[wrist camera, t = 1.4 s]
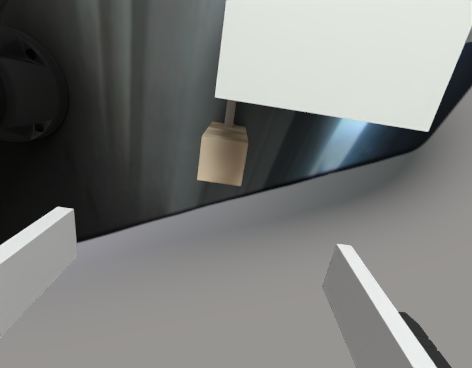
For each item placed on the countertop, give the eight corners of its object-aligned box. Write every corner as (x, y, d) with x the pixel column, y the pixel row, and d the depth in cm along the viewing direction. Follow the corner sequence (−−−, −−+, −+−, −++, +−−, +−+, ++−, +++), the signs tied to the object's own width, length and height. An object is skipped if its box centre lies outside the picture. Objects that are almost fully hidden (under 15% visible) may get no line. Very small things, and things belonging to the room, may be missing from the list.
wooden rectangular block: (208, 153, 41) (197, 179, 29) (221, 44, 35) (213, 25, 24) (240, 158, 41) (241, 186, 30) (257, 50, 35) (267, 34, 24)
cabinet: (226, 91, 37) (214, 97, 19) (242, -27, 32) (247, -180, 14) (334, 108, 38) (428, 131, 19) (366, -4, 33) (531, -120, 14)
